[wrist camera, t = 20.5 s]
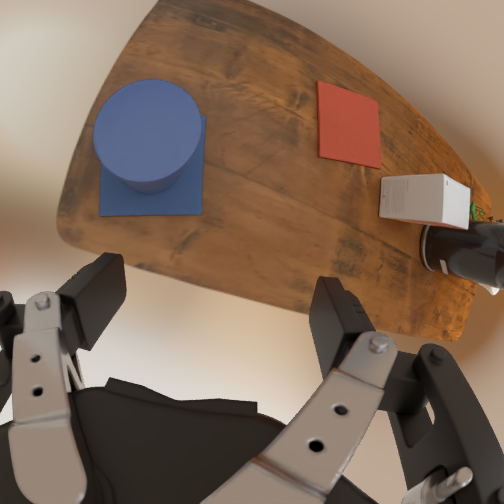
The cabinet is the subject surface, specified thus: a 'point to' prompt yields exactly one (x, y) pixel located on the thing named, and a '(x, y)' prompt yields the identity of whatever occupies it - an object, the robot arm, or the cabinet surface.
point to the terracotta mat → (348, 126)
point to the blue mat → (165, 203)
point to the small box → (425, 200)
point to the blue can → (147, 134)
